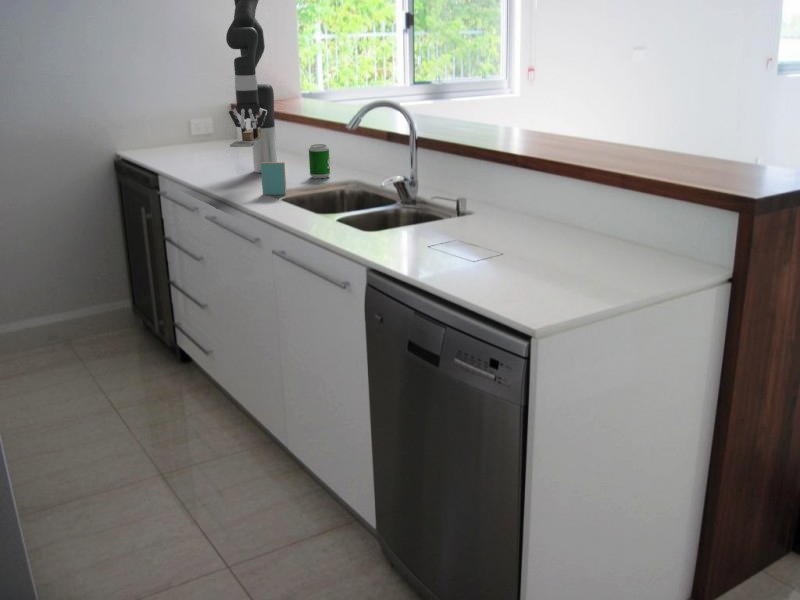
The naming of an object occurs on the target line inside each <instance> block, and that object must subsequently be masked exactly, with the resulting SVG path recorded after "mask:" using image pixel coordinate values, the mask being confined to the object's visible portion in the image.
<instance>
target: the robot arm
mask: <svg viewBox="0 0 800 600" xmlns="http://www.w3.org/2000/svg"><path fill="white" fill-rule="evenodd" d="M233 2H234V6H235V8H234V14H233V20H232V22H231V24H230V25H229V27H228V29H227V31H226V36H225V39H226V40H225V42H226V44H227V46H228V47H229V48H230V49H232V50H239V51H240V56H238V57H237V56H236V57H235V58H234V59H233V67H234V89H235V101H236V106H235V108H233V109H231V110H229V111H228V114H229V115H230V118H231V120H232V122H233V124H234V125H235V127H237V128H240V130H241V131H240V132H241V134H242V133H243V132H245V131H247V130H248V129H247V128H246V127H247V121H248V119H250V129H251V128H254V129H253V136H254V139H257V137H258V136H259V135H258V128H259V127H261V138H259V139H257V140H256V141H257V143H256V144H255V145H253V146H251V147H252V158H253V159H252V160H253V172H254V173H257V174H258V173H259V174H261V162H278V154H277V142H276V141H277V140H276V138H277V137H276V128H275V127H276V125H275V123H276V122H275V93H274V88H273V86H272V85H271V84H269V83H268V84H267V83H260V84H259V83H258V82H257V81H258V80H257V74H256V69H257V67H258V64H259V62H260V60H261V58H262V57H263V54H264V51H265V46H266V45H265V36H264V30H263V28H262V25H261V24H260V22H259V21H258V20H257V18H256V10H257V6H258V4H259V0H233ZM258 113H259V115H260V116H257V115H258ZM237 115H239V116H240V120H239V118H238V116H237Z"/></svg>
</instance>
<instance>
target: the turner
mask: <svg viewBox="0 0 800 600" xmlns="http://www.w3.org/2000/svg"><path fill="white" fill-rule="evenodd" d="M253 129H254V128H251V127H250V128H249V129H247V131H245V132H243V133H242V132H241V139H242V140H235V141H234V142H232V143H231V144H229V147H230V148H242V147H243V148H251V147H252V146H253V145H255V144H256V143H257V141H256V140H257V139H259V138H261V127H259V128H258V135H259V136H258V137H257V139H254V136H253Z"/></svg>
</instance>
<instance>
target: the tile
mask: <svg viewBox="0 0 800 600" xmlns="http://www.w3.org/2000/svg"><path fill="white" fill-rule="evenodd" d="M285 165H286V164H285V161H277V162H261V173H260V174H261V175H260V176H261V186H262V195H263V194H264V195H265V196H287V181H286V166H285ZM264 195H263V196H264Z"/></svg>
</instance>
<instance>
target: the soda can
mask: <svg viewBox="0 0 800 600" xmlns="http://www.w3.org/2000/svg"><path fill="white" fill-rule="evenodd" d="M308 157H309V159H308V160H309V162H308V163H309V175H310V177H313V178H312V179H315V178H324V179H327V177H328V178H329V176H330V174H331V168H330V167H331V166H330V165H331V164H330V161H331V160H330V147H328V146H327V144H323V143H322V144H321V143H318V144H317V143H316V144H311V145H310V147H309V148H308Z"/></svg>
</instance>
